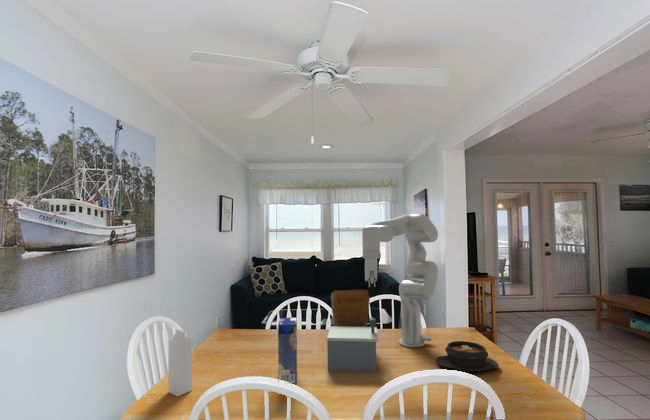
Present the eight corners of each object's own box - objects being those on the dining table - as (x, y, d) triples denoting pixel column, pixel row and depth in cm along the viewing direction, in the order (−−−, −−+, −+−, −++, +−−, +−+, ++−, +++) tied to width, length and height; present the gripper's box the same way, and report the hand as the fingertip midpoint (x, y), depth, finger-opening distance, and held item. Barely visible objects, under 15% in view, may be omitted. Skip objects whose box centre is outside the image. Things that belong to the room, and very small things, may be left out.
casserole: (441, 375, 145) (441, 354, 146) (431, 358, 164) (431, 339, 164) (506, 376, 144) (506, 355, 144) (489, 359, 162) (488, 339, 162)
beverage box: (297, 371, 150) (296, 317, 151) (296, 382, 140) (296, 324, 140) (280, 371, 150) (280, 317, 151) (278, 383, 139) (278, 325, 140)
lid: (376, 329, 166) (376, 314, 166) (378, 341, 149) (378, 324, 149) (330, 328, 168) (330, 313, 168) (327, 340, 151) (327, 323, 152)
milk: (183, 386, 138) (183, 327, 139) (192, 390, 134) (192, 329, 135) (167, 392, 133) (168, 330, 134) (177, 397, 129) (177, 333, 130)
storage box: (374, 357, 165) (374, 330, 166) (376, 371, 149) (375, 341, 150) (330, 356, 167) (330, 329, 168) (327, 370, 151) (327, 340, 152)
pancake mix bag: (370, 349, 175) (369, 290, 176) (331, 347, 179) (330, 290, 180) (371, 344, 182) (370, 288, 183) (333, 343, 185) (332, 287, 186)
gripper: (362, 252, 168) (363, 290, 167) (362, 256, 151) (363, 298, 150) (379, 252, 167) (379, 290, 167) (381, 256, 150) (381, 298, 149)
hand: (371, 294), depth 158 cm, fingers open, 9 cm apart
